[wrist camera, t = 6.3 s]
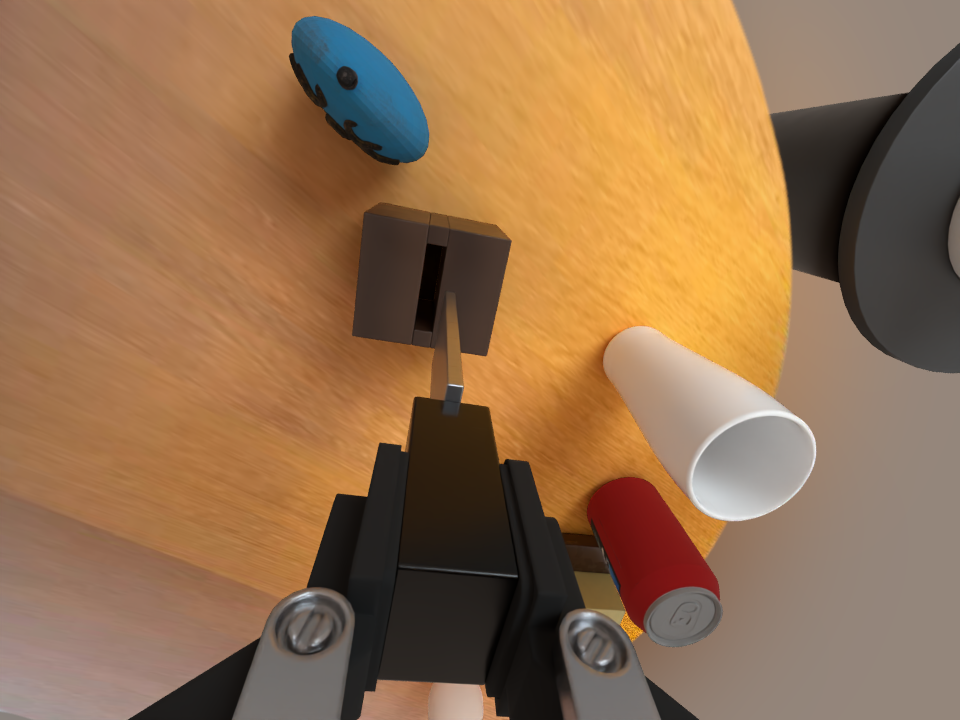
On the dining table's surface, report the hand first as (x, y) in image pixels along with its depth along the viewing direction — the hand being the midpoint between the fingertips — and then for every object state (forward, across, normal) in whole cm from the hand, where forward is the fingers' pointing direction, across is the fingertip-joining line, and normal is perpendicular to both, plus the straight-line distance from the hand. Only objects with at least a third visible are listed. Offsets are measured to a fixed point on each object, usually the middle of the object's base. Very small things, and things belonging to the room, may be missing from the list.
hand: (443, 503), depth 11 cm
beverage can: (+24, -19, +17) cm, 35 cm away
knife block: (+23, +1, -1) cm, 23 cm away
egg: (+24, -8, +41) cm, 48 cm away
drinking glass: (+24, -16, +3) cm, 29 cm away
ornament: (+24, +6, -10) cm, 26 cm away
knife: (+13, 0, 0) cm, 13 cm away
